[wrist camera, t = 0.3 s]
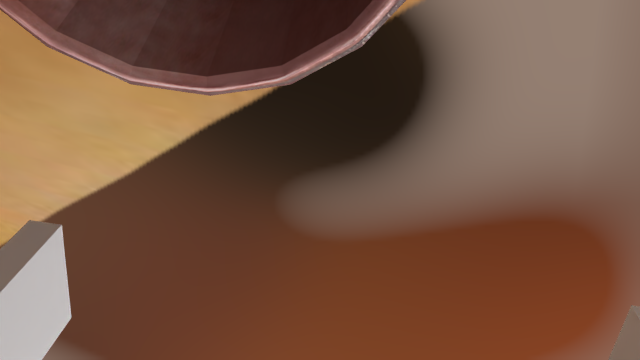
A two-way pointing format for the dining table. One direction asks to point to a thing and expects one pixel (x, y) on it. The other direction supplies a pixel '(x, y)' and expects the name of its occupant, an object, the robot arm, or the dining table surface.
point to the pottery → (203, 38)
